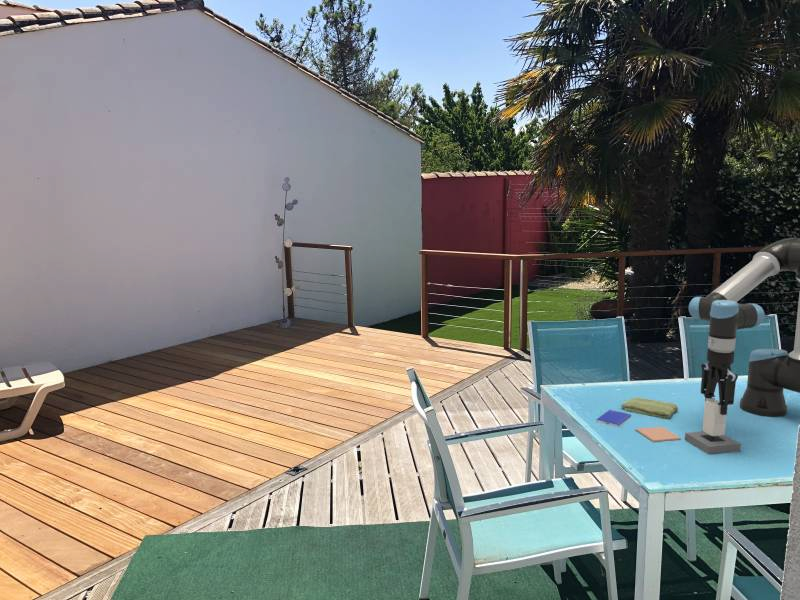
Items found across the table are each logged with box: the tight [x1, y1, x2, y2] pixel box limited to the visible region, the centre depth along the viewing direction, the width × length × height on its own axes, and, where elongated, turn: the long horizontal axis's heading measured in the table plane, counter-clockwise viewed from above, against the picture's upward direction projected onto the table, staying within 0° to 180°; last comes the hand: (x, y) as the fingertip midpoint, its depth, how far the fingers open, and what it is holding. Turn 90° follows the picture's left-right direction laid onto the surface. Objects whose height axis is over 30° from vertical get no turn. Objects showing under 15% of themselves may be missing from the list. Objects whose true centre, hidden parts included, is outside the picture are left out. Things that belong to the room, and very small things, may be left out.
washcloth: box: [620, 397, 679, 420], centre depth 223 cm, size 13×18×3 cm
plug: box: [702, 399, 728, 436], centre depth 190 cm, size 4×4×10 cm
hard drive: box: [595, 409, 632, 428], centre depth 215 cm, size 2×8×12 cm
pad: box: [635, 426, 681, 443], centre depth 200 cm, size 10×10×1 cm
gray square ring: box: [684, 430, 742, 455], centre depth 192 cm, size 11×11×2 cm
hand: (714, 420), depth 191 cm, fingers closed on plug, 4 cm apart
